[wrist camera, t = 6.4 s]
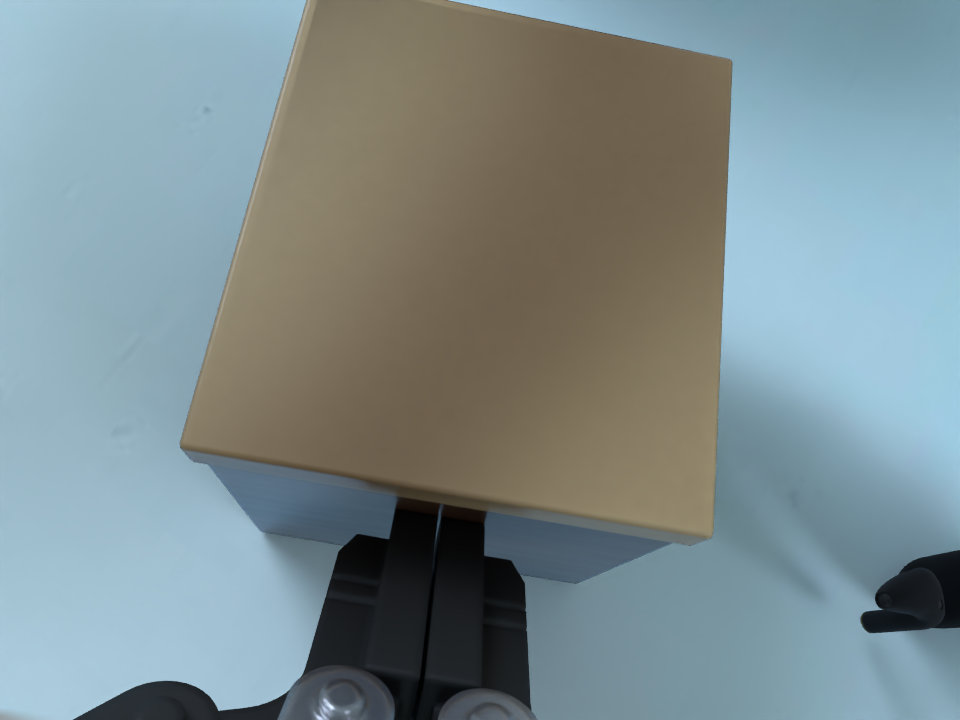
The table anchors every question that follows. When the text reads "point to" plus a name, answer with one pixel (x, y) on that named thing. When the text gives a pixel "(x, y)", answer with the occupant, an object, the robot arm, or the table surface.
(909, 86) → the table surface
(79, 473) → the table surface
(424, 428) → the box
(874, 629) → the wireless earbuds
